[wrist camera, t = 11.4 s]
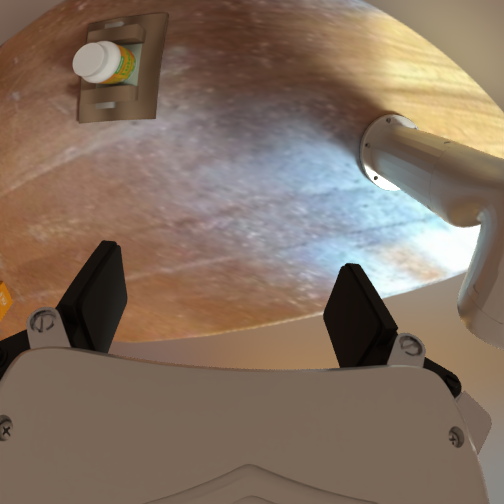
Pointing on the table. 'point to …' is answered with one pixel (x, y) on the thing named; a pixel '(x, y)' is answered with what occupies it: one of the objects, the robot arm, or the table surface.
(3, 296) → the cereal box
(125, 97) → the holder
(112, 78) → the supplement bottle
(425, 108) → the table surface
